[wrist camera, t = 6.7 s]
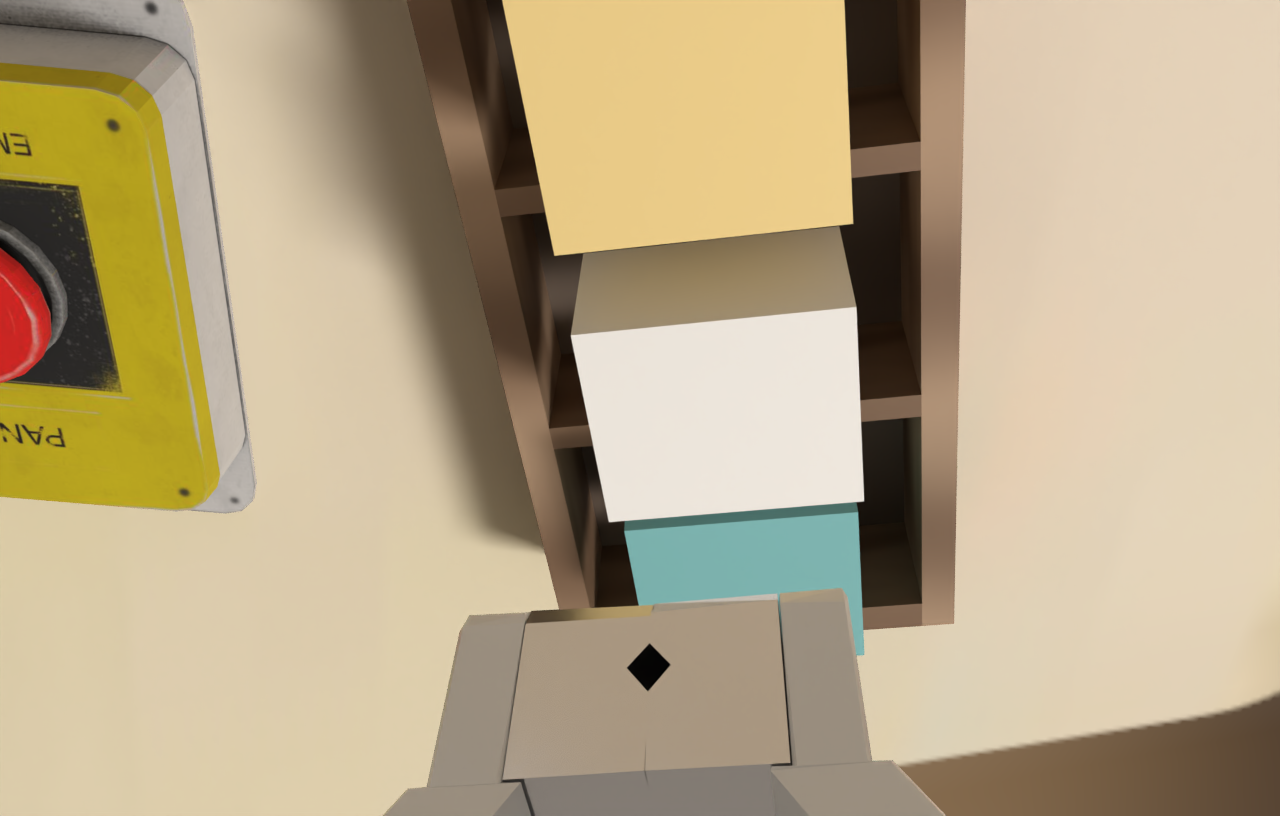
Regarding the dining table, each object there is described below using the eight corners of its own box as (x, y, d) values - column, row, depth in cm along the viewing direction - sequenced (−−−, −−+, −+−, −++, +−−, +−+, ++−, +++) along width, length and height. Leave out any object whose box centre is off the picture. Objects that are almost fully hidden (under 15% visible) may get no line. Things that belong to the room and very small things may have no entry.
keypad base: (404, -202, 23) (364, -167, 20) (935, -283, 22) (970, -258, 19) (579, 561, 34) (569, 650, 32) (932, 534, 33) (953, 623, 31)
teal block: (631, 420, 29) (624, 531, 26) (839, 401, 28) (858, 512, 25) (655, 553, 32) (651, 669, 28) (846, 538, 31) (864, 655, 28)
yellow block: (530, -76, 21) (501, -7, 18) (818, -116, 20) (842, -52, 17) (573, 157, 23) (554, 255, 20) (830, 127, 23) (853, 223, 20)
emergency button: (113, 35, 22) (217, 612, 31) (193, -33, 25) (266, 501, 34) (-401, -11, 22) (-148, 583, 30) (-248, -74, 25) (-60, 474, 34)
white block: (587, 229, 24) (570, 335, 21) (834, 203, 24) (856, 306, 21) (619, 404, 27) (608, 522, 24) (843, 383, 26) (864, 501, 23)
